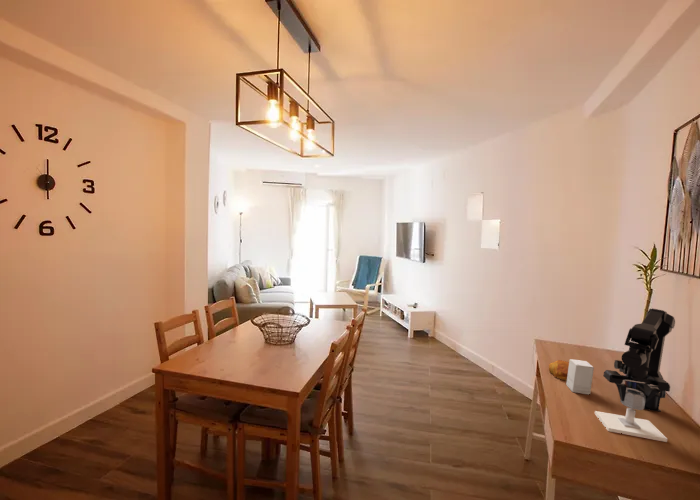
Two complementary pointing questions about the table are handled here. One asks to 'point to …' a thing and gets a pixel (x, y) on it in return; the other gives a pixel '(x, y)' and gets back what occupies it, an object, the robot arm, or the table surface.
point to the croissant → (559, 369)
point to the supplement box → (579, 376)
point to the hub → (634, 399)
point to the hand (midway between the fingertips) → (632, 402)
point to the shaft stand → (630, 425)
